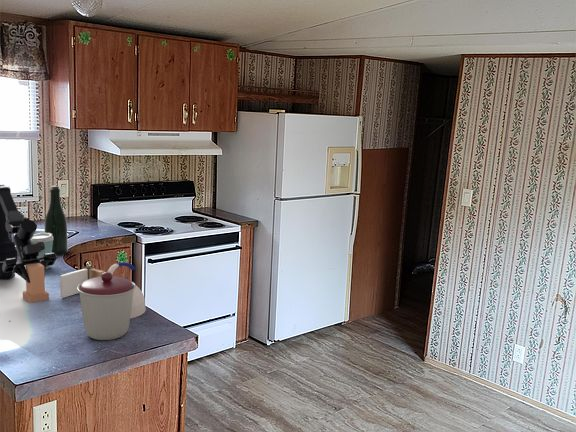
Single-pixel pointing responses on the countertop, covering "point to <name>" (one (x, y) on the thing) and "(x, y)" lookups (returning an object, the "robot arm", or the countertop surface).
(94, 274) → the door frame
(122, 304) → the canister
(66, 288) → the door
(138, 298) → the kettle
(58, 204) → the beer bottle
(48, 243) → the disposable coffee cup
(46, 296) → the tan square pedestal
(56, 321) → the countertop surface
